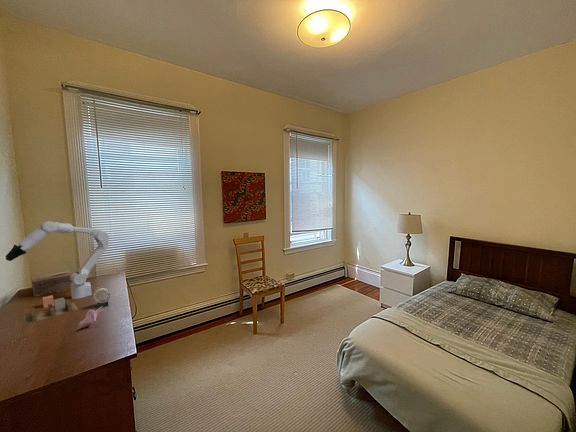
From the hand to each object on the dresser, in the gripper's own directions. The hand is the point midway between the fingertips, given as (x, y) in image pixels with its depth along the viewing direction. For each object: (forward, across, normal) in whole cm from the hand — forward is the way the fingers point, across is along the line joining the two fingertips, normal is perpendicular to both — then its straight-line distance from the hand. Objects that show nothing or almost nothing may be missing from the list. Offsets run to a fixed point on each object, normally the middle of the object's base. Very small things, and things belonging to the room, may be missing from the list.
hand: (7, 259), depth 126 cm
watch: (-3, +28, +46) cm, 53 cm away
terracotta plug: (+12, +2, +31) cm, 34 cm away
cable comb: (+12, +15, +32) cm, 37 cm away
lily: (+4, +48, +39) cm, 63 cm away
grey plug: (+8, +15, +33) cm, 37 cm away
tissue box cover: (+5, -33, +38) cm, 50 cm away
